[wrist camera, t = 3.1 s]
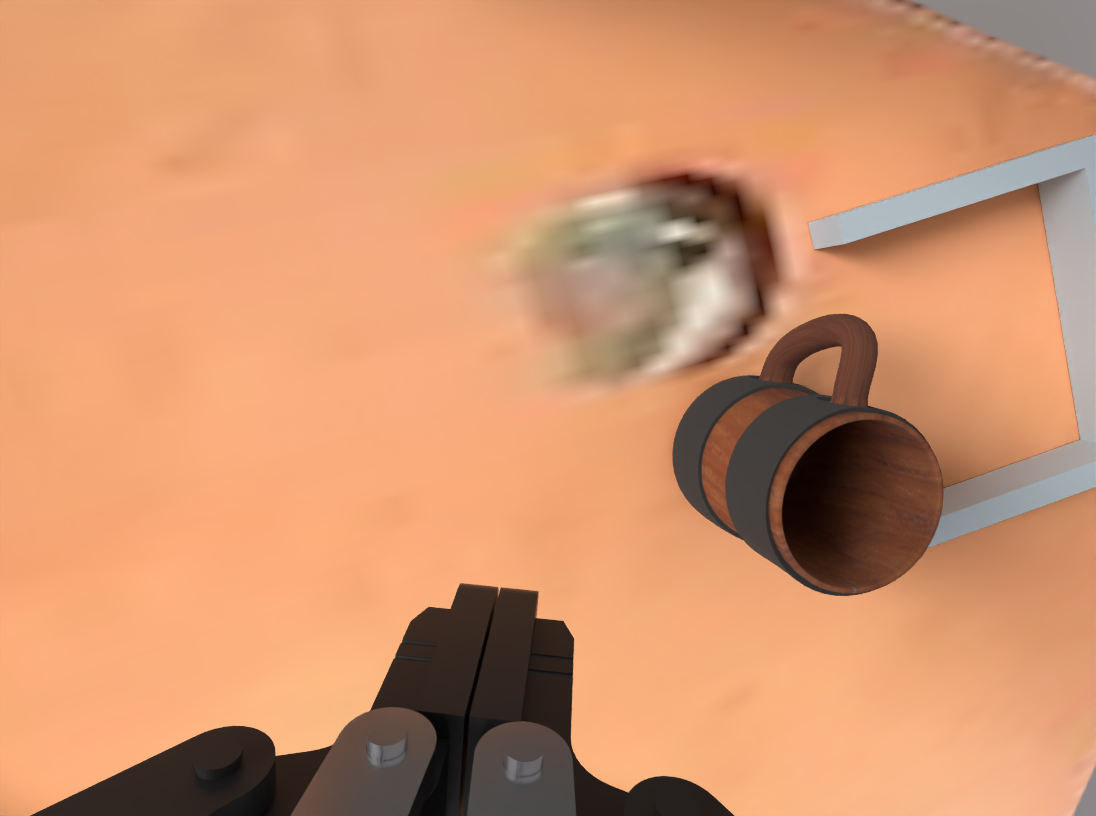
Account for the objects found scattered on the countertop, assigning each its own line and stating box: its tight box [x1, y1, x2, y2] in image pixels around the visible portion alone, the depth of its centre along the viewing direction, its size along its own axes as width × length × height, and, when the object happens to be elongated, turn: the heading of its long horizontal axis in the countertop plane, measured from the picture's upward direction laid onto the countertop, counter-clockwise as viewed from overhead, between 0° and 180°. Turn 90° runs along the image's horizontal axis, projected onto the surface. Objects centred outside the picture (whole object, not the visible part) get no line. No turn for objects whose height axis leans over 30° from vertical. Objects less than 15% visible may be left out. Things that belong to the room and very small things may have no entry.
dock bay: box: [808, 134, 1096, 548], centre depth 38 cm, size 19×16×3 cm
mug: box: [673, 314, 944, 596], centre depth 32 cm, size 9×12×12 cm
